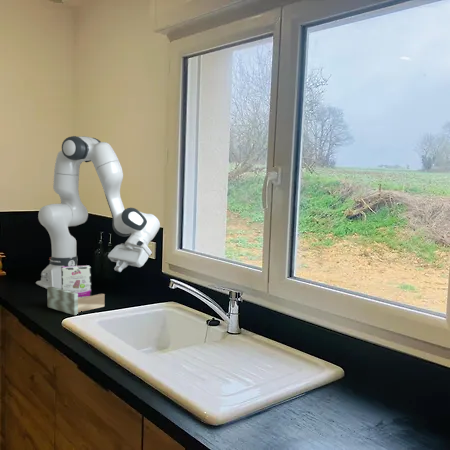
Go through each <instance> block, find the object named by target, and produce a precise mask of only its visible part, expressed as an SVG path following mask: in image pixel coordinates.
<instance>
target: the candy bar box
mask: <svg viewBox="0 0 450 450" xmlns="http://www.w3.org/2000/svg"><path fill="white" fill-rule="evenodd" d="M61 284H62V290H66V291H70V292H74V293H78V298H82V297H88V296H92V267H91V266H90V265H87V264H86V265H77V266H67V267H61Z"/></svg>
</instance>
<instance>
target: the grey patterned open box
mask: <svg viewBox="0 0 450 450" xmlns="http://www.w3.org/2000/svg"><path fill="white" fill-rule="evenodd" d="M46 290H47V292H46V293H47V294H46V296H47V299H46V300H47V308H50V309H53V310H56V311H59V312H63V313H66V314H70V315H73V316H77V314H78V315H79V313H81V311H82V312H86V311H90V310H94V309H100V308H104V307H105V304H106V303H105V295H106V294H105V293H98V294H93V295H91V296H88V297H82V298H78V293H74V292H70V291H66V290H62V289H59V288H55V287H51V286H50V287H47V289H46Z"/></svg>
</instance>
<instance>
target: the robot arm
mask: <svg viewBox="0 0 450 450" xmlns="http://www.w3.org/2000/svg"><path fill="white" fill-rule="evenodd" d="M90 162H91V163H92V164H93V167H94V169H95V171H96V174H97V176H98V179H99V181H100V183H101V186H102V189H103V192H104V195H105V199H106V202H107V204H108V207H109V211H110V214H111V217H112V218H111V219H112V221H111V222H112V223H111V224H112V229H113V231H114V233H115V234H116V235H118V236H120V237H123V238H124V237H125V238H126V237H128V238H127V240H126V241H125V242H124V243H120V244H117V245H115V246H114V248H113V249H112V250H111V251H110V252H108V255H107V258H108V259H109V260H110V261H111V262H114V263H116V265H115V266H114V268H113V269H114V271H116V272H118V273H121V272H122V271H123V270H124V269H126V268H127V267H128V266H131V267H137V268H141V267H143V266H144V265H145V263H146V262H147V261H148V259H149V256H151V255H152V253H153V252H152V250H151V249H150V247H149V245H150V242H151V241H153V239H154V238H155V237H156V235H157V233H158V232H159V230H160V228H161V223H160V220H159V218H158V217H157V216H156V215H154V214H153V213H145V212H142V211H140V210H138V209H137V208H135V207H127V208H125V206H124V203H123V200H122V197H121V196H122V195H121V187H122V183H123V179H124V171H123V168H122V165H121V163H120V159H119V158H118V155H117V153H116V152H115V150H114V148H113V147H112V145H111V144H110V143H109V142H106V141H101V140H99V139H97V138H95V137H90V136H85V135H84V136H80V135H79V136H76V135H73V136H68V137H66V138H64V140H63V142H62V144H61V150H60V151H58V153H57V156H56V159H55V162H54V172H53V184H52V185H53V191H54V192H55V193H56V194H57V195H58V196H59V198H60V203H50V204H47V205H44V206H42V207H41V208H40V209H39V211H38V215H37V216H38V217H37V219H38V222H39V223H40V225H42V226H43V227H44V228H45V230H46V231H47V232H48V234H49V238H50V244H51V256H50V257H48V258H49V259H48V260H49V263H48V265H47V266H46V267H45V268H44V269H43V270H42V271H41V273H40V276H41V277H40V280H37V281H36V282H35V284H36V285H37V286H40V287H42V288H45V289H46V290H47V287H50V286H51V287H55V288H59V289H62V284H61V267H67V266H78V255H77V240H76V237H74V236H73V235H72V234H71V233H70V230H69V227H77V226H79V225H82V224H85V223H86V222H87V221H88V218H89V211H88V209H87V206H85V205H84V204H83V202H82V200H81V196H80V193H79V192H80V191H79V185H80V184H79V181H80V167H81V165H82V163H90Z"/></svg>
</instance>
